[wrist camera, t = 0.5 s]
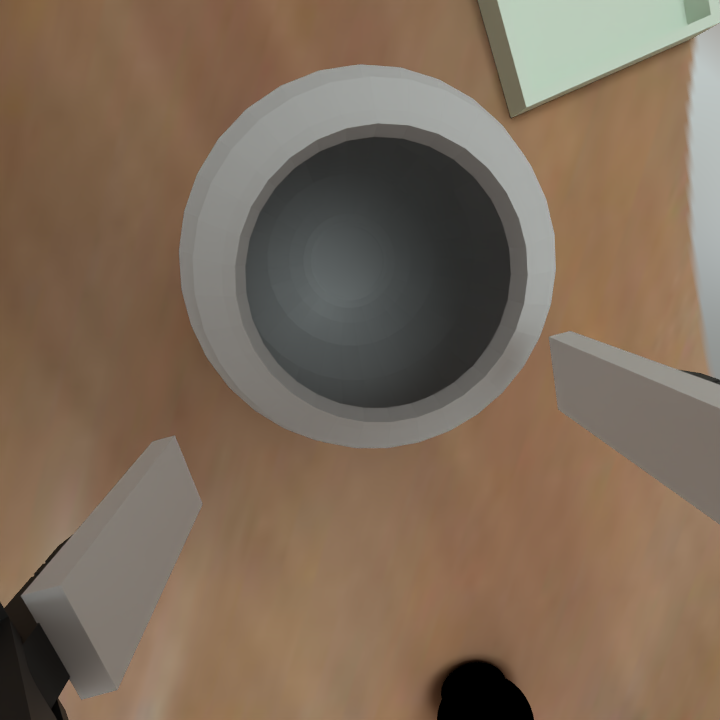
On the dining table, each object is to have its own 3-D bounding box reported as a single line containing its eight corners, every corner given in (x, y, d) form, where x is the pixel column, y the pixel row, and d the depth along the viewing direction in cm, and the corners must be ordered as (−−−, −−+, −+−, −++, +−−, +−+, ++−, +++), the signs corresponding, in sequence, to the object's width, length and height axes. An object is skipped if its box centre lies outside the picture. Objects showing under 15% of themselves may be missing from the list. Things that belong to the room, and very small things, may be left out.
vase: (331, 402, 43) (339, 593, 20) (193, 240, 38) (-16, 233, 15) (493, 281, 41) (716, 329, 18) (370, 94, 36) (454, -183, 13)
